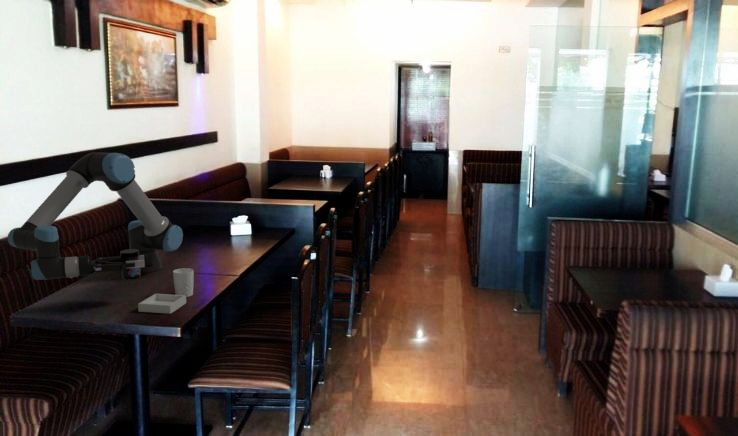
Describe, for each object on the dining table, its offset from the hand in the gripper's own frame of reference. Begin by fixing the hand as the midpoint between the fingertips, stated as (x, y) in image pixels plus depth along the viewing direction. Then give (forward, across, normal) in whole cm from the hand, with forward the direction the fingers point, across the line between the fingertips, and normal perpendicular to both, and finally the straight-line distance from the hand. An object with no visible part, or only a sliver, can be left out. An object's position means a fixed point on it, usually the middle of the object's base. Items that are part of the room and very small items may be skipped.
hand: (144, 261), depth 239 cm
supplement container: (-5, 0, -6) cm, 8 cm away
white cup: (+14, -1, -16) cm, 21 cm away
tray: (+6, +12, -15) cm, 20 cm away
